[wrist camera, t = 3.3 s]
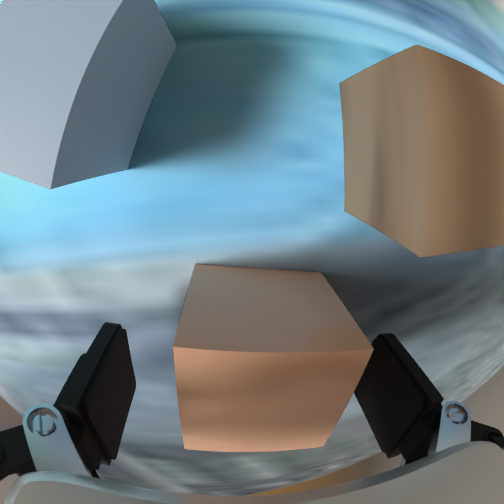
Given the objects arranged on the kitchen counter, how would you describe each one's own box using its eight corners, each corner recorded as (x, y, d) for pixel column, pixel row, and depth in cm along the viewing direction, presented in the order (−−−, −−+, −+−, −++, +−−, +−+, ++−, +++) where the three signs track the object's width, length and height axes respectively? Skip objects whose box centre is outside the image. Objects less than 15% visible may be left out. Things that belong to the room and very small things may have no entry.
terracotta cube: (320, 271, 11) (373, 349, 6) (297, 363, 13) (322, 446, 8) (195, 262, 11) (173, 347, 6) (194, 359, 12) (184, 448, 8)
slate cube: (177, 46, 8) (140, -26, 3) (128, 169, 9) (50, 189, 4) (74, 34, 7) (6, -6, 2) (34, 142, 8) (-52, 152, 3)
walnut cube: (436, 101, 9) (521, 96, 4) (436, 207, 10) (517, 243, 6) (338, 83, 8) (416, 44, 4) (343, 210, 10) (420, 257, 6)
